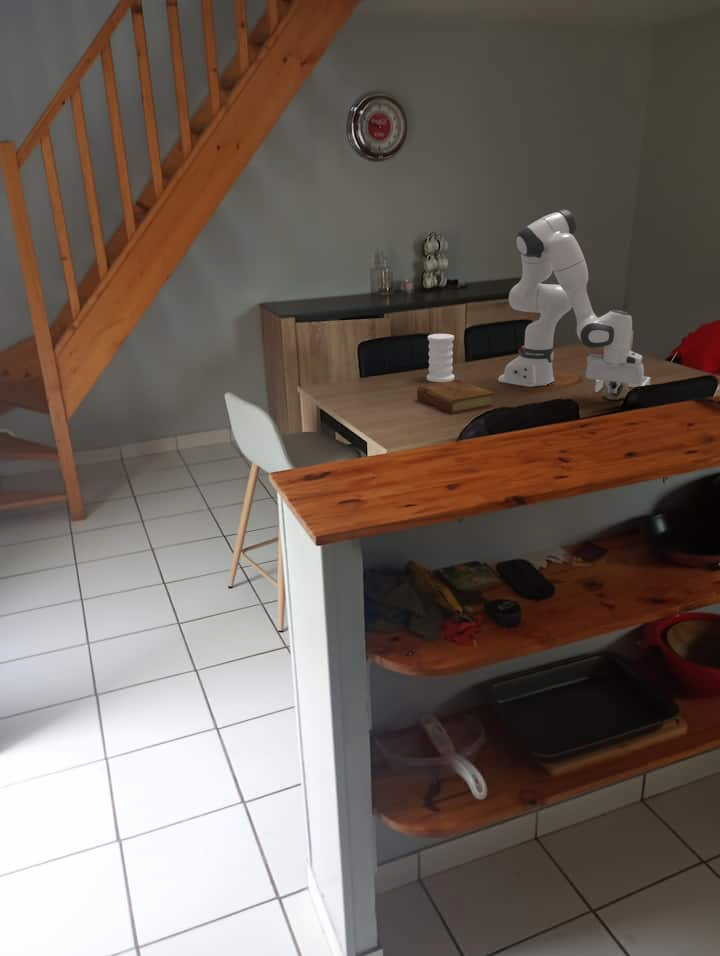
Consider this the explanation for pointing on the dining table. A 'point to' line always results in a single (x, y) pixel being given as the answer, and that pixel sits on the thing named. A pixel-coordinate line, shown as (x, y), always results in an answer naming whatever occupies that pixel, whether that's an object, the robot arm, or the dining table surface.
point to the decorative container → (440, 358)
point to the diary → (454, 396)
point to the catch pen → (645, 382)
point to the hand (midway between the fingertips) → (612, 392)
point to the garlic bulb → (620, 392)
